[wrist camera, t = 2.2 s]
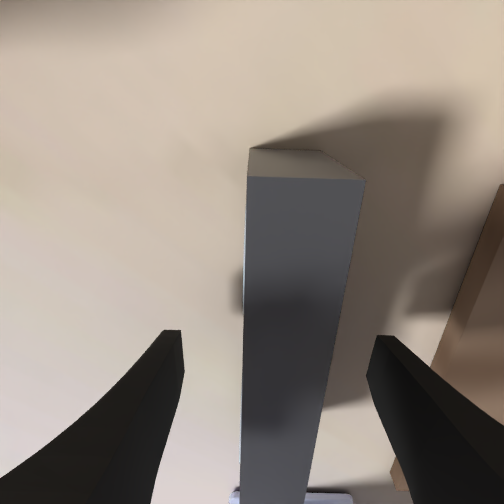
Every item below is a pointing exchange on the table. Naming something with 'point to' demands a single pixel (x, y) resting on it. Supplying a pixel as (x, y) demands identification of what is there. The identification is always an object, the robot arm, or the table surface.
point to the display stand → (476, 329)
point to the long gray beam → (290, 311)
